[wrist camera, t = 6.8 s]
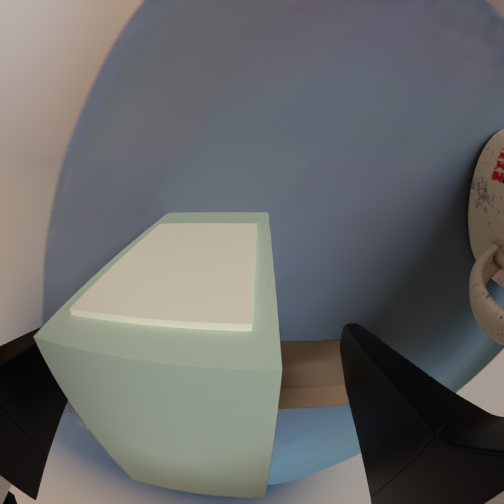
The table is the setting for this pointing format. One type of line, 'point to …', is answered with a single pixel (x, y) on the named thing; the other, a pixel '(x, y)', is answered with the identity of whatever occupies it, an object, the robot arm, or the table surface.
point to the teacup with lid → (488, 236)
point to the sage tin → (178, 354)
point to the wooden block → (311, 375)
